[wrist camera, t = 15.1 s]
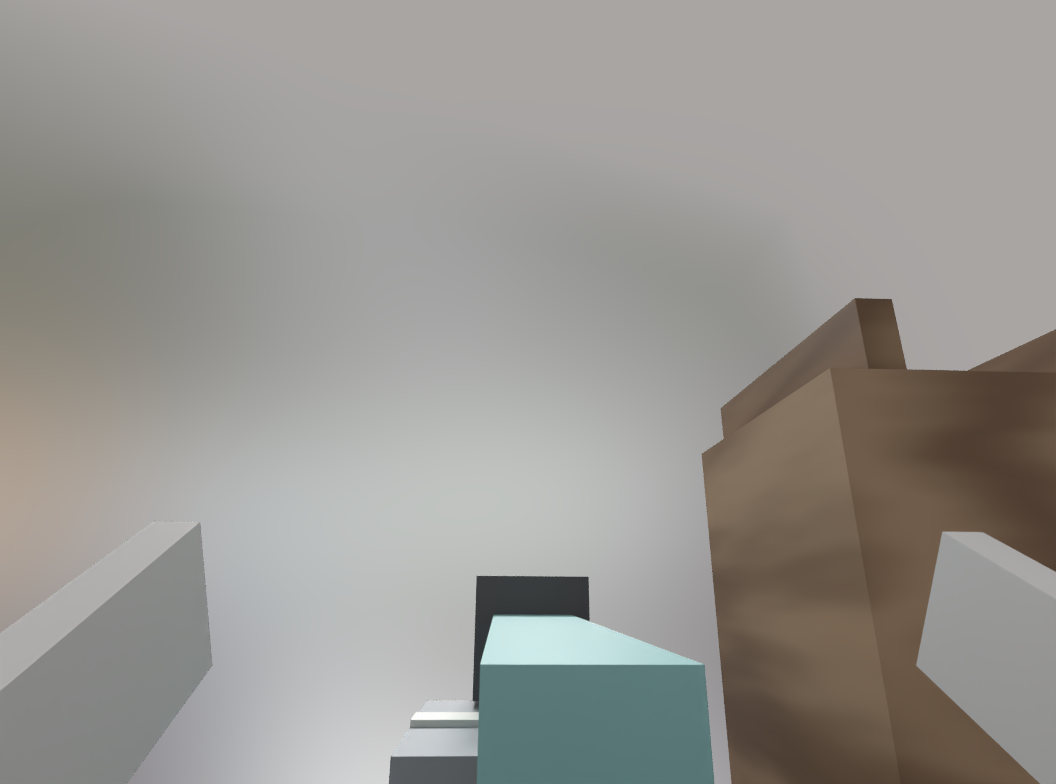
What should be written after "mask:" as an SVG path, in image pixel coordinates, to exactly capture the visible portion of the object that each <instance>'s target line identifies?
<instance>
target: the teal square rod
mask: <svg viewBox="0 0 1056 784" xmlns="http://www.w3.org/2000/svg"><path fill="white" fill-rule="evenodd" d="M475 616H476V617H475V647H474V677H473V701H479V722H478V756H477V784H714V774H713V762H712V750H711V738H710V725H709V713H708V702H707V690H706V678H705V665H704V664H701V663H698V662H696V661H693V660H690V659H688V658H685V657H683V656H680V655H677V654H675V653H672V652H669V651H666V650H664V649H661V648H659V647H656V646H653V645H650V644H648V643H645V642H643V641H640V640H637V639H635V638H632V637H629V636H627V635H624V634H621V633H619V632H616V631H613V630H610V629H608V628H605V627H603V626H600V625H598V624H595V623H592V622H590V621H589V583H588V577H536V576H535V577H533V576H532V577H531V576H477V586H476V615H475Z"/></svg>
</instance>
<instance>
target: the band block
mask: <svg viewBox="0 0 1056 784" xmlns="http://www.w3.org/2000/svg"><path fill="white" fill-rule="evenodd" d="M478 722H479V701H473V700H444V701H443V700H439V701H438V700H432V701H431V700H428V701H427V702H426V704H425V705H424V707H423V708H422V710H421V712H416V713H415V714H414V716H413V717H412V719H411V722H410V728H409V730H408V731H407V733H406V734H405V736H404V737H403V739H402V740H401V742H400V743H399V745H398V746H397V748H396V749H395V751H394V753H393V754H392V756H391V761H390V776H389V784H477V756H478Z"/></svg>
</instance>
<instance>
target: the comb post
mask: <svg viewBox="0 0 1056 784" xmlns="http://www.w3.org/2000/svg"><path fill="white" fill-rule="evenodd" d="M721 416H722V426H723V435H724V439H723V440H722V441H720V442H719V443H717V444H716V445H714V446H713V447H711V448H710V449H708V450H707V451H705V452H704V453H702V461H703V473H704V483H705V495H706V506H707V517H708V528H709V539H710V550H711V561H712V572H713V583H714V594H715V605H716V616H717V627H718V638H719V649H720V660H721V670H722V682H723V693H724V704H725V716H726V726H727V737H728V748H729V760H730V770H731V780H732V784H1040V783H1039V782H1038V781H1037V780H1036V779H1035V778H1034V777H1032V776H1031V775H1030V774H1029V773H1028V772H1027V771H1026V770H1025V769H1024V768H1023V767H1022V766H1021V765H1020V764H1019V763H1018V762H1017V761H1016V760H1015V759H1014V758H1013V757H1012V756H1010V755H1009V754H1008V753H1007V752H1006V751H1005V750H1004V749H1003V748H1002V747H1001V746H1000V745H999V744H998V743H997V742H996V741H995V740H994V739H993V738H992V737H991V736H989V735H988V734H987V733H986V732H985V731H984V730H983V729H982V728H981V727H980V726H979V725H978V724H977V723H976V722H975V721H974V720H973V719H972V718H971V717H970V716H969V715H967V714H966V713H965V712H964V711H963V710H962V709H961V708H960V707H959V706H958V705H957V704H956V703H955V702H954V701H953V700H952V699H951V698H950V697H949V696H948V695H946V694H945V693H944V692H943V691H942V690H941V689H940V688H939V687H938V686H937V685H936V684H935V683H934V682H933V681H932V680H931V679H930V678H929V677H928V676H927V675H926V674H924V673H923V672H922V671H921V670H920V669H919V668H918V667H917V666H916V663H917V658H918V653H919V648H920V643H921V638H922V633H923V628H924V623H925V617H926V612H927V607H928V602H929V597H930V592H931V587H932V582H933V577H934V572H935V566H936V561H937V556H938V551H939V546H940V541H941V536H942V532H983V533H985V534H987V535H989V536H991V537H993V538H994V539H996V540H998V541H1000V542H1002V543H1004V544H1005V545H1007V546H1009V547H1011V548H1013V549H1015V550H1016V551H1018V552H1020V553H1022V554H1024V555H1026V556H1027V557H1029V558H1031V559H1033V560H1035V561H1037V562H1038V563H1040V564H1042V565H1044V566H1046V567H1048V568H1049V569H1051V570H1053V571H1055V572H1056V330H1054V331H1051V332H1049V333H1047V334H1045V335H1043V336H1041V337H1039V338H1036V339H1034V340H1032V341H1030V342H1028V343H1026V344H1024V345H1021V346H1019V347H1017V348H1015V349H1013V350H1011V351H1009V352H1006V353H1004V354H1002V355H1000V356H998V357H996V358H994V359H991V360H990V361H987V362H985V363H983V364H981V365H979V366H976V367H974V368H972V369H970V370H968V371H948V370H907V368H906V364H905V359H904V354H903V350H902V345H901V340H900V336H899V331H898V327H897V322H896V317H895V313H894V308H893V303H892V300H891V299H862V298H861V299H860V298H855V299H853V300H852V301H851V302H850V303H849V304H848V305H846V306H845V307H844V308H842V309H841V310H840V311H839V312H838V313H836V314H835V315H834V316H833V317H832V318H830V319H829V320H828V321H827V322H825V323H824V324H823V325H822V326H821V327H820V328H818V329H817V330H816V331H814V332H813V333H812V334H811V335H810V336H808V337H807V338H806V339H805V340H803V342H801V343H800V344H799V345H797V346H796V347H795V348H794V349H793V350H791V351H790V352H789V353H788V354H786V355H785V356H784V357H783V358H781V359H780V360H779V361H778V362H777V363H776V364H774V365H773V366H772V367H771V368H769V369H768V370H767V371H766V372H764V373H763V374H762V375H761V376H760V377H758V378H757V379H756V380H755V381H753V382H752V383H751V384H750V385H749V386H747V387H746V388H745V389H744V390H742V391H741V392H740V393H739V394H738V395H737V396H735V397H734V398H733V399H731V400H730V401H729V402H728V403H727V404H725V405H724V406H723V407H722V408H721Z"/></svg>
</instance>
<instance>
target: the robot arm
mask: <svg viewBox="0 0 1056 784" xmlns="http://www.w3.org/2000/svg"><path fill="white" fill-rule="evenodd" d="M916 666H917V667H918V668H919V669H920V670H921V671H922V672H923V673H924V674H926V675H927V676H928V677H929V678H930V679H931V680H932V681H933V682H934V683H935V684H936V685H937V686H938V687H939V688H940V689H941V690H942V691H943V692H944V693H945V694H946V695H948V696H949V697H950V698H951V699H952V700H953V701H954V702H955V703H956V704H957V705H958V706H959V707H960V708H961V709H962V710H963V711H964V712H965V713H966V714H967V715H969V716H970V717H971V718H972V719H973V720H974V721H975V722H976V723H977V724H978V725H979V726H980V727H981V728H982V729H983V730H984V731H985V732H986V733H987V734H988V735H989V736H991V737H992V738H993V739H994V740H995V741H996V742H997V743H998V744H999V745H1000V746H1001V747H1002V748H1003V749H1004V750H1005V751H1006V752H1007V753H1008V754H1009V755H1010V756H1012V757H1013V758H1014V759H1015V760H1016V761H1017V762H1018V763H1019V764H1020V765H1021V766H1022V767H1023V768H1024V769H1025V770H1026V771H1027V772H1028V773H1029V774H1030V775H1031V776H1032V777H1034V778H1035V779H1036V780H1037V781H1038V782H1039V783H1040V784H1056V572H1055V571H1053V570H1051V569H1049V568H1048V567H1046V566H1044V565H1042V564H1040V563H1038V562H1037V561H1035V560H1033V559H1031V558H1029V557H1027V556H1026V555H1024V554H1022V553H1020V552H1018V551H1016V550H1015V549H1013V548H1011V547H1009V546H1007V545H1005V544H1004V543H1002V542H1000V541H998V540H996V539H994V538H993V537H991V536H989V535H987V534H985V533H983V532H942V536H941V541H940V546H939V551H938V556H937V561H936V566H935V572H934V577H933V582H932V587H931V592H930V597H929V602H928V607H927V612H926V617H925V623H924V628H923V633H922V638H921V643H920V648H919V653H918V658H917V663H916ZM211 667H212V656H211V644H210V632H209V621H208V608H207V597H206V585H205V574H204V561H203V550H202V538H201V526H200V522H174V521H153V522H152V523H150V524H149V525H148V526H146V527H145V528H143V529H142V530H141V531H139V532H138V533H137V534H135V535H134V536H133V537H131V538H130V539H128V540H127V541H126V542H124V543H123V544H122V545H120V546H119V547H117V548H116V549H115V550H114V551H112V552H111V553H109V554H108V555H106V556H105V557H104V558H102V559H101V560H100V561H98V562H97V563H96V564H94V565H93V566H91V567H90V568H89V569H87V570H86V571H85V572H83V573H82V574H80V575H79V576H78V577H77V578H75V579H74V580H72V581H71V582H70V583H68V584H67V585H65V586H64V587H63V588H61V589H60V590H59V591H57V592H56V593H54V594H53V595H52V596H50V597H49V598H48V599H46V600H45V601H44V602H42V603H41V604H39V605H38V606H37V607H35V608H34V609H33V610H31V611H30V612H28V613H27V614H26V615H24V616H23V617H22V618H20V619H19V620H17V621H16V622H15V623H13V624H12V625H11V626H9V627H8V628H7V629H5V630H4V631H3V632H1V633H0V784H127V783H128V781H129V780H130V778H131V777H132V776H133V774H134V773H135V772H136V770H137V769H138V767H139V766H140V765H141V763H142V761H144V759H145V758H146V756H147V755H148V754H149V752H150V751H151V749H152V748H153V747H154V745H155V744H156V743H157V741H158V740H159V738H160V737H161V736H162V734H163V733H164V731H165V730H166V729H167V727H168V726H169V724H170V723H171V722H172V720H173V719H174V718H175V716H176V715H177V713H178V712H179V711H180V709H181V708H182V707H183V705H184V704H185V702H186V701H187V699H188V698H189V697H190V696H191V694H192V693H193V691H194V690H195V689H196V687H197V686H198V685H199V683H200V681H201V680H202V679H203V677H204V676H205V675H206V673H207V672H208V671H209V669H210V668H211Z"/></svg>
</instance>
